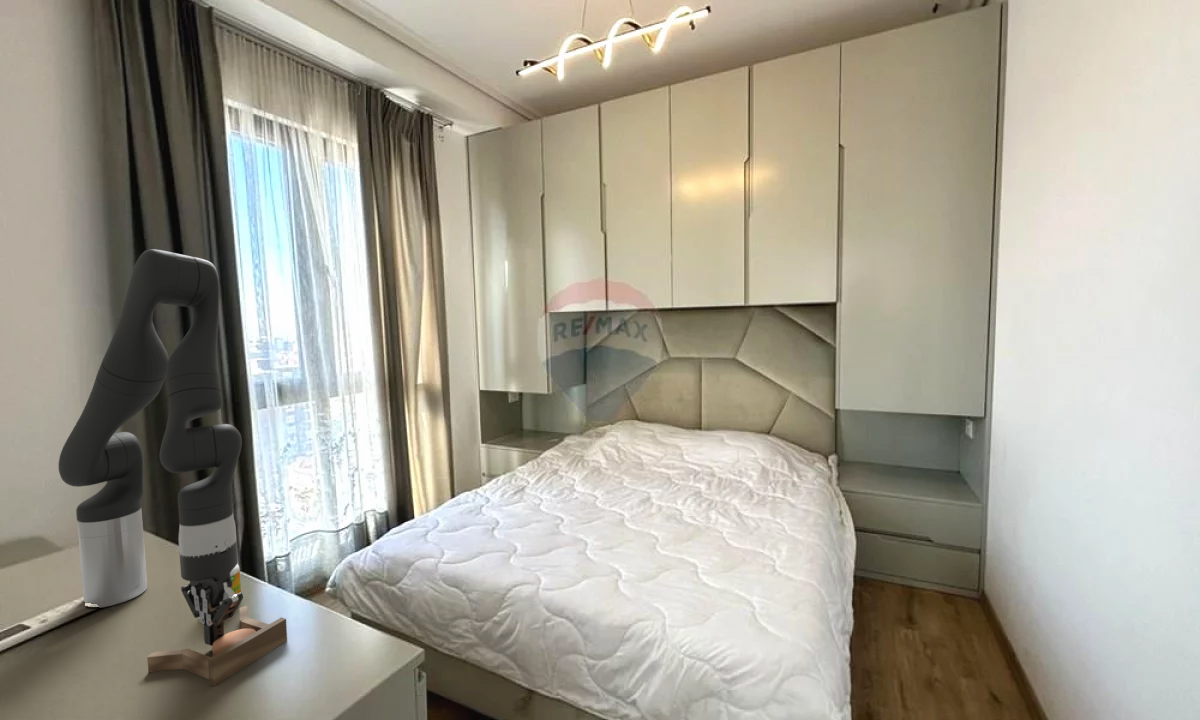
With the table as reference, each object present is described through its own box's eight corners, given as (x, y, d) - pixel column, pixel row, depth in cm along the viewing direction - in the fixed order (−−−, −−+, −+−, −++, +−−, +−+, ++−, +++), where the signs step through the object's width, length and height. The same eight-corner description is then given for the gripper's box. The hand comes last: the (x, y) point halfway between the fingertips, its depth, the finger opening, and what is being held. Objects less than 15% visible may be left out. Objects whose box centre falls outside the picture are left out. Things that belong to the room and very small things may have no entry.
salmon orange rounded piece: (203, 661, 81) (203, 647, 81) (240, 639, 87) (239, 625, 86) (230, 669, 79) (229, 654, 79) (265, 645, 85) (265, 631, 85)
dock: (146, 671, 78) (144, 647, 78) (246, 617, 93) (244, 597, 92) (200, 694, 73) (198, 669, 73) (297, 634, 88) (296, 612, 87)
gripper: (158, 546, 82) (165, 646, 83) (208, 560, 77) (215, 666, 78) (208, 529, 89) (214, 621, 90) (257, 541, 84) (263, 638, 85)
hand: (214, 642), depth 84 cm, fingers closed
